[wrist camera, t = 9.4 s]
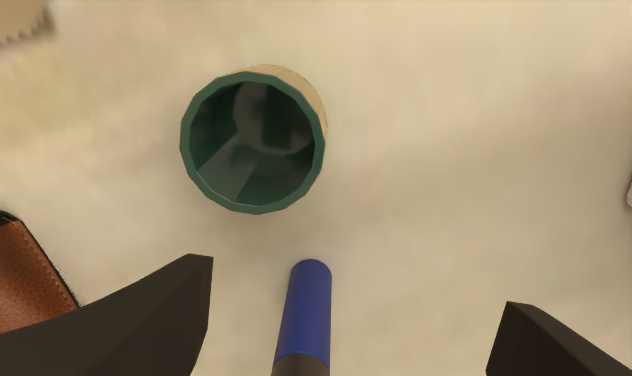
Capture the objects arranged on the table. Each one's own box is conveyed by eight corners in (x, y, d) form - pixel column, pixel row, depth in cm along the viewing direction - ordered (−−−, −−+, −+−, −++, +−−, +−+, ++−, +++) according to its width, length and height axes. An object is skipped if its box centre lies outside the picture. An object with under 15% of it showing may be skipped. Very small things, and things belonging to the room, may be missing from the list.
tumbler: (335, 75, 20) (335, 84, 16) (316, 189, 21) (312, 224, 17) (215, 55, 20) (184, 61, 16) (205, 171, 21) (175, 202, 17)
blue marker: (334, 261, 22) (333, 388, 14) (328, 298, 23) (323, 439, 15) (293, 255, 22) (268, 378, 14) (288, 292, 23) (261, 430, 15)
